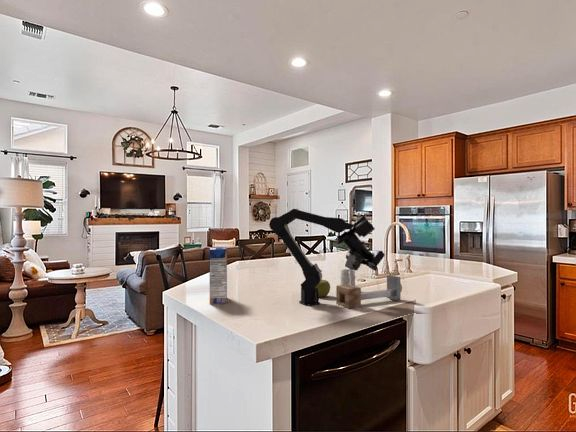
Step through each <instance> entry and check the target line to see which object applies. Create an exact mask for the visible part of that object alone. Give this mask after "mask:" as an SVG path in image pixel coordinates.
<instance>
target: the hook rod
mask: <svg viewBox="0 0 576 432" xmlns="http://www.w3.org/2000/svg"><path fill="white" fill-rule="evenodd" d="M402 290H403V286H402V283H401V276H398V275H391V274H388V275H386V289H382V290H380V289H379V290H373V291H372V290H371V291H363V292H362V291H361V301H366V300H371V299H373V300H374V299H382V298H387V299H391V300H393V301H401V300H402V299H401V298H402V297H401V295H402V294H401V293H402Z"/></svg>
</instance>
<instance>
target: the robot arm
mask: <svg viewBox="0 0 576 432" xmlns="http://www.w3.org/2000/svg"><path fill="white" fill-rule="evenodd" d="M295 220H300V221H303V222H307V223H311V224H314V225H317V226H318V225H319V226H322V227H324V228H326V229H329V230H331V231H332V232H335V233H338V235H336V243H337V244H338V245H340V244H341V243H343V244H344V245H345V246H346V247H347V253H346V254H345V259H346V262H345V267H346V268H347V269H351V270H355V272H357V271H358V270H359V269H360V268H361V265H364V266H367V267H368V268H370V269H371V270H373V271H377V270H378V268H377V266H379V264H380V263H381V261H382V260H383V259H384V257H385V255H386V254H385V253H384V251H383V250H376V249H375V250H373V251H371V249H370V247H367V246H366V245H365V241H364V240H361V239H360V238H361V237H362V238H365V237H366V236H368V235H369V234H371V233H372V232H373V231H374V230H376V228H375V227H374V225H373V224H371V221H369V220H368V219H367V217H366V216H365V215H363V216H362V217H360V219H358V220H357V221H355V223H352V222H351V223H349V222H347V221H346V220H345V219H344V218H342V217H341V218H340V217H329V216H323V215H318V214H315V213H312V212H308V211H304V210H299V209H298V208H292V209H291V210H289V211H288V212H285V213H284V214H282V215H280V216H275V217H272V218H271V219H270V220H269V224H268V225H269V229H270V230H272V232H273V233H274V234H275V235H276V236H278V237H279V238H280V239H281V240H282V242H283V243H284V244H285V246H286V247H287V248H288V250H289V252H290V254H291V255H292V256H293V257H294V259H295V261H296V262H297V263H298V265H299V267H300V268H301V270H302V275H303V276H304V281H303V282H302V283H301V284H300V300H298V301H299V303H300V304H302V305H304V306H313V305H320V304H321V302H320V297H319V291H318V288H317V287H316V286H317V285H318V284H319V283H320V281H321V280H323V273H322V272H323V271H322V269H321V268H320V267H319V266H318V264H317V263H316V262H315V263H314V264H313V263H312V262H311V261H310V260H309V259H308V257H307V255H306V254H305V252H304V251H303V250H302V248H301V247H300V245H299V244H298V243H297V241H296V240H295V238H294V237H293V235H292V233H291V231H290V228H289V224H290V223H292V222H293V221H295ZM345 230H347V231H345ZM342 232H343V233H342ZM340 233H342V234H340Z"/></svg>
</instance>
